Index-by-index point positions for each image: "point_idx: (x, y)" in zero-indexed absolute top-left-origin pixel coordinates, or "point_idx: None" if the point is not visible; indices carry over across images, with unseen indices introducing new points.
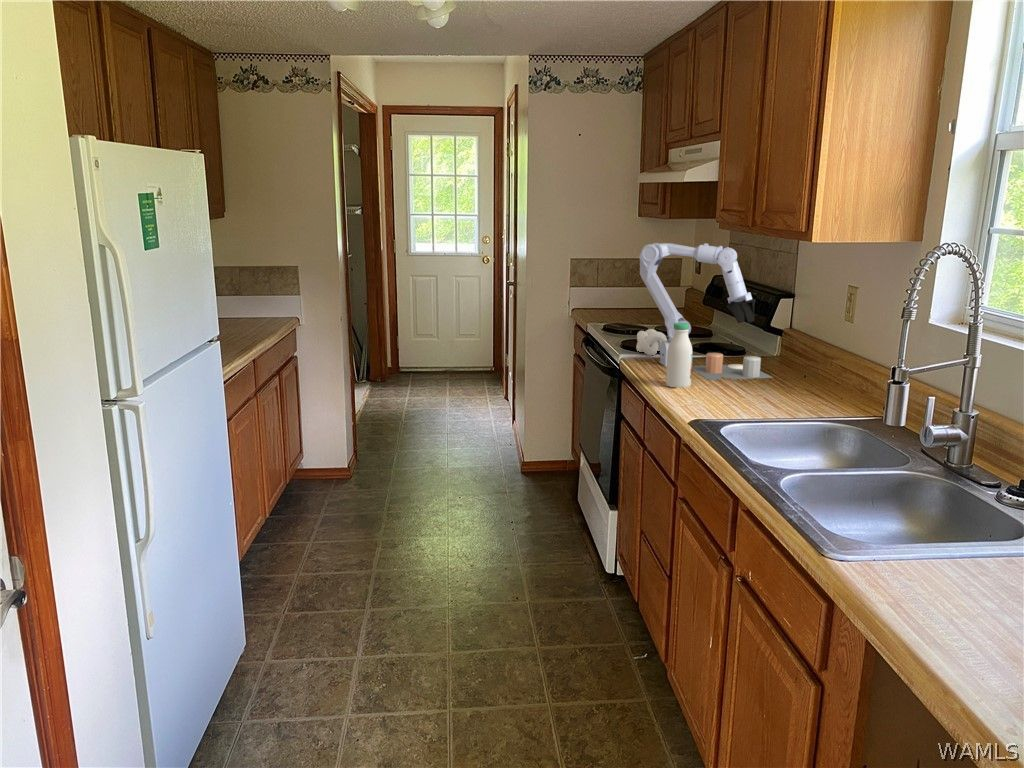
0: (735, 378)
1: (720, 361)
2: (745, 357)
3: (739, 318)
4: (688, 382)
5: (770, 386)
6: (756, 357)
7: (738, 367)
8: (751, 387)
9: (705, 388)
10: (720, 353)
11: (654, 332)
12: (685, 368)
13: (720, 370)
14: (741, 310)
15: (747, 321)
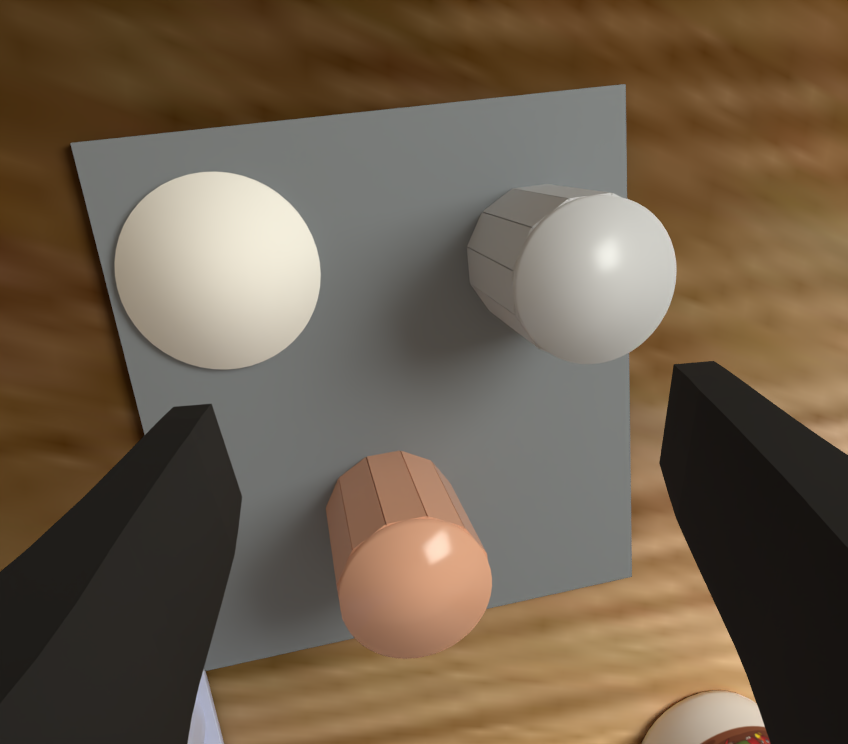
0: (610, 400)
1: (469, 524)
2: (579, 347)
3: (207, 542)
4: None
5: (817, 202)
6: (593, 235)
7: (271, 286)
8: (811, 344)
9: None
10: (381, 539)
11: None
12: None
13: (445, 481)
14: (114, 619)
15: (672, 488)
